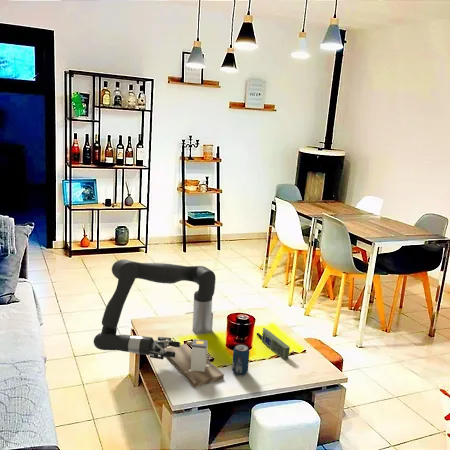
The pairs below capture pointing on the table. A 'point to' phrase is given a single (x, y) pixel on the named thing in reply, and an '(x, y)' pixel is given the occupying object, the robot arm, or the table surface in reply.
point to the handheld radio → (275, 344)
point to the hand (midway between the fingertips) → (177, 349)
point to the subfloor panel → (184, 366)
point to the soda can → (240, 359)
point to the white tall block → (199, 355)
